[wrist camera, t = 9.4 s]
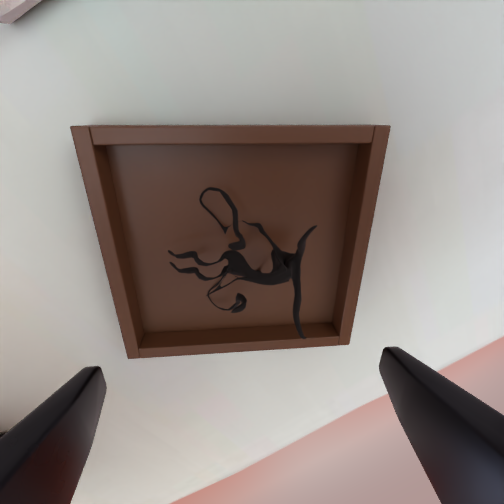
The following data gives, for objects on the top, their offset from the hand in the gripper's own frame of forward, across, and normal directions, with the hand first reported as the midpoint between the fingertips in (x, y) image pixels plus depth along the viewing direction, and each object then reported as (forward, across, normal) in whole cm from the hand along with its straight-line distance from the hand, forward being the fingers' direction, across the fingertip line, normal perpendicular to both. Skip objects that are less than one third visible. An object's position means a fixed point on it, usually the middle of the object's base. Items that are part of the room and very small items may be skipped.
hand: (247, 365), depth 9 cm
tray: (+10, 0, 0) cm, 10 cm away
